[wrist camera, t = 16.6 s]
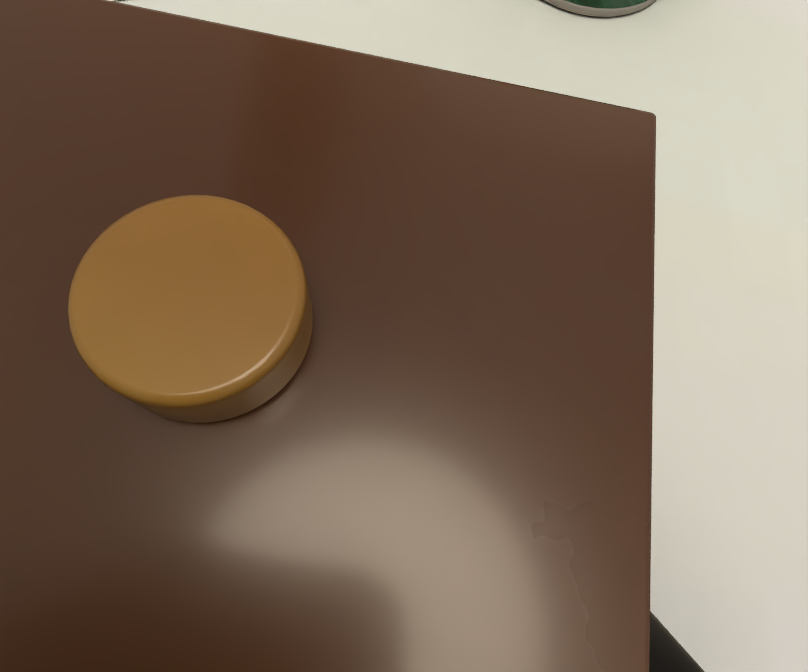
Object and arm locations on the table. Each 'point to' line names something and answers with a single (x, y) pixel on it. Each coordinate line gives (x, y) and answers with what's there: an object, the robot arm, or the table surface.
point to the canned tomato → (601, 6)
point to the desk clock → (315, 358)
